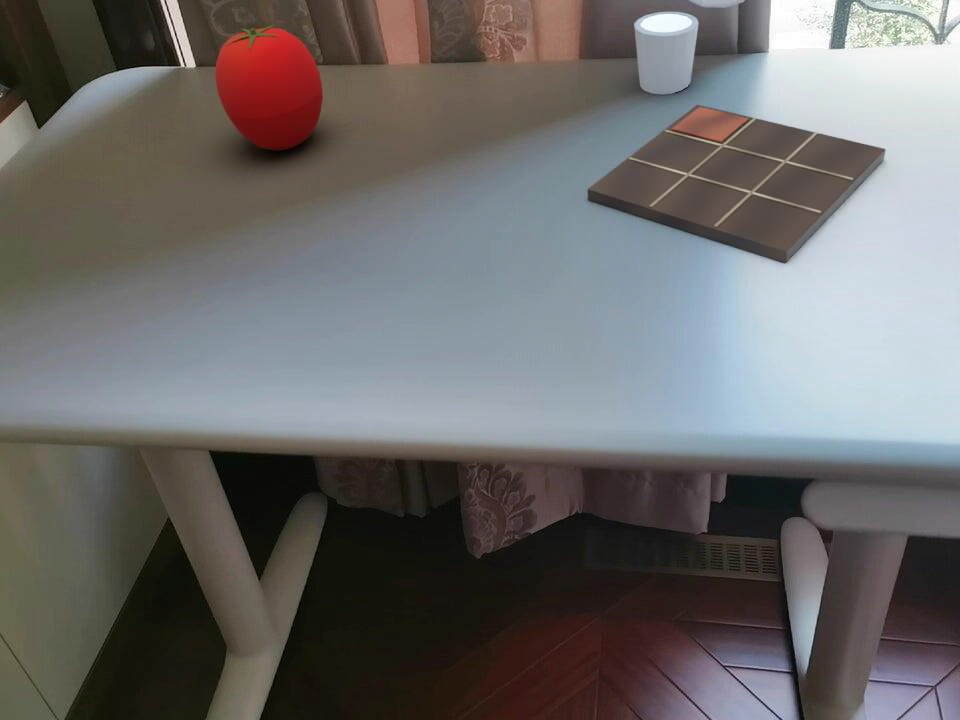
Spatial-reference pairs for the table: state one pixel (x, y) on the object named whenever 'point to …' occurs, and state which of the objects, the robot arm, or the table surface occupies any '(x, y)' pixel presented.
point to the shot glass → (665, 51)
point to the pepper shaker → (716, 3)
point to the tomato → (269, 87)
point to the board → (739, 180)
